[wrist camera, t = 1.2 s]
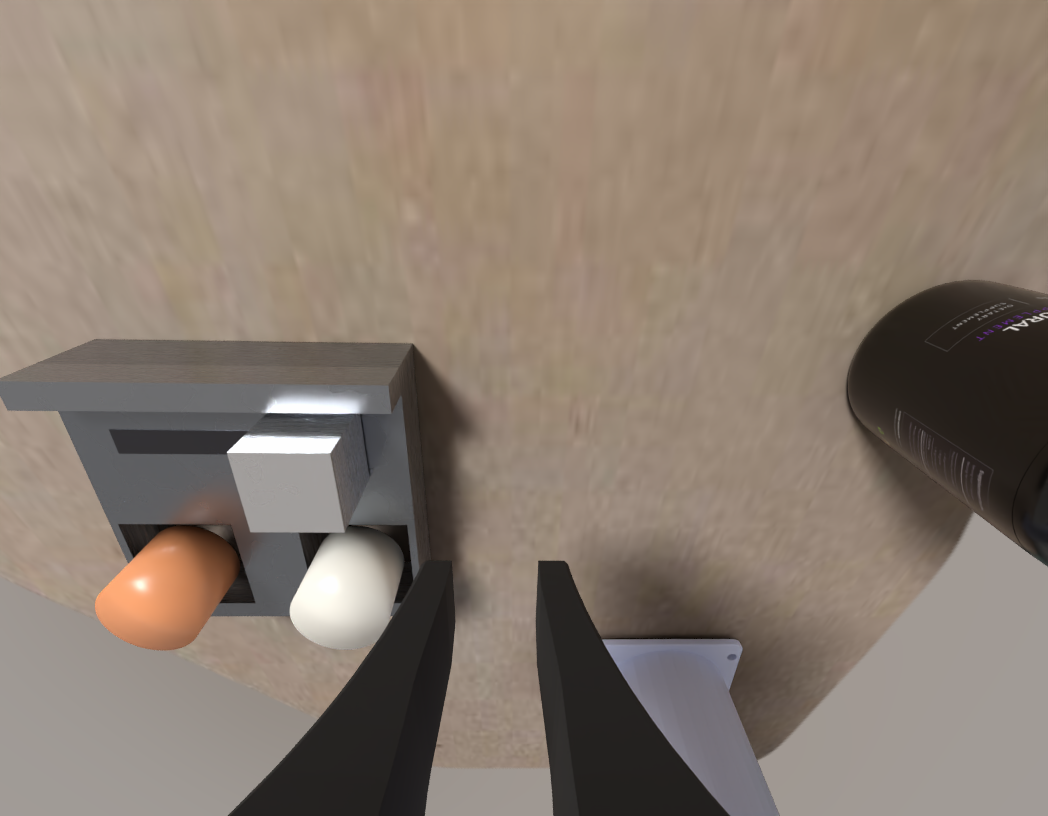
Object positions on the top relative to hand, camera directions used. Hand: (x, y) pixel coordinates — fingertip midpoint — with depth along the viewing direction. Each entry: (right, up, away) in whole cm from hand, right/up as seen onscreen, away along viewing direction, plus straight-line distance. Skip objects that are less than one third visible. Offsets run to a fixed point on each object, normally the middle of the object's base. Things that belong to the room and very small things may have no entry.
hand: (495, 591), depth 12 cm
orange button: (-13, -2, +9) cm, 16 cm away
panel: (-10, +2, +9) cm, 14 cm away
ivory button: (-6, -2, +9) cm, 11 cm away
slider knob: (-7, +3, +6) cm, 9 cm away
